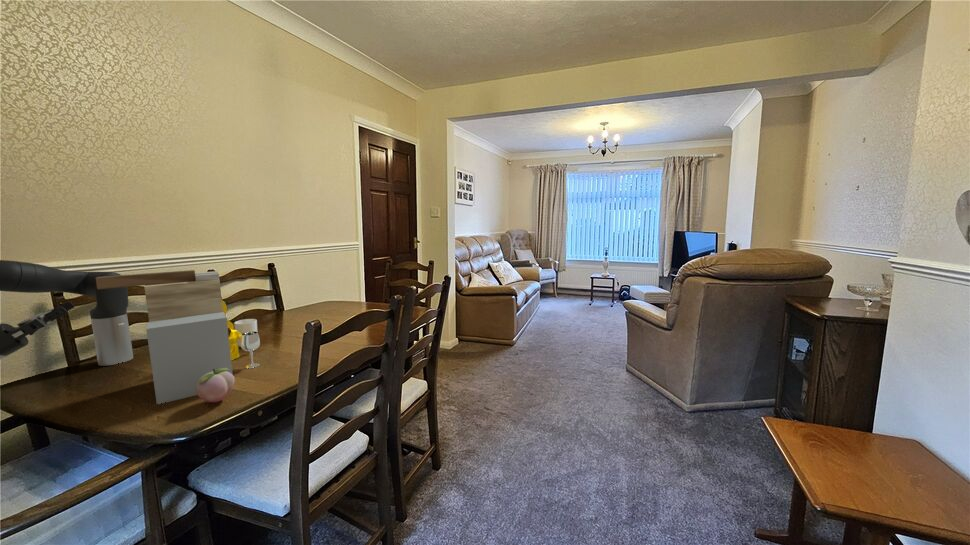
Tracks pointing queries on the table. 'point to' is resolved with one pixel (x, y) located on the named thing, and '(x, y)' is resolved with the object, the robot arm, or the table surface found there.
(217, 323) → the grey block
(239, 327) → the white cup
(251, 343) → the wineglass
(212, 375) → the decorative fruit
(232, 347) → the figure statuette
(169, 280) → the brown block
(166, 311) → the oak stand
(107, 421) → the table surface
